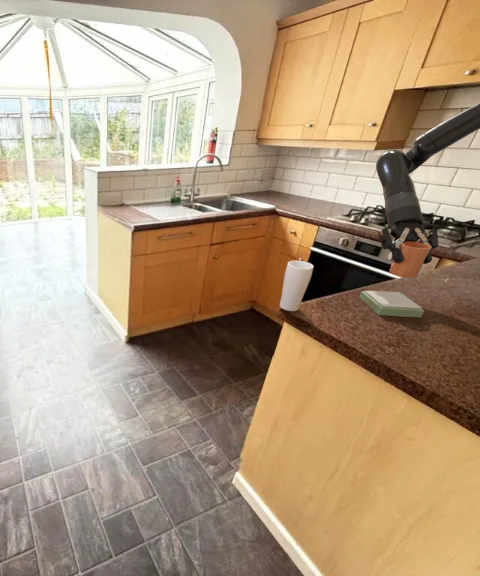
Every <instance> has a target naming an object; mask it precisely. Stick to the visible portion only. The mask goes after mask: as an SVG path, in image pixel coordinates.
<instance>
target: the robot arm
mask: <svg viewBox="0 0 480 576" xmlns="http://www.w3.org/2000/svg"><path fill="white" fill-rule="evenodd" d="M479 130H480V102H479V103H477V104H475V105H473V106H471V107H469V108H466V109H464V110H462V111H461V112H458V113H457V114H454V115H453V116H450V117H448V118H446V119H445V120H443V121H442V122H440V123H438V124H437V125H435V126H433V127H432V128H430V129H428V130H427V131H425V132H424V133H422V134H420V135H419V136H417V137H416V138H414V140H413V142H412V147H411V148H410V149H409V150H408V151H406V153H405V152H403V151H402V150H400V149H389V150H386V151H384V152H383V153H381V155H379V157H378V158H377V160H376V163H375V171H376V173H377V177H378V180H379V182H380V184H381V188H382V193H383V199H384V210H385V211H384V212H385V216H386V222H387V227H383V228H382V229H380V230H379V231H377V235H378V238H379V241H380V245H381V248H382V249H383V250H388V251H390V253H391V257H392V262H393V261H395V263H400V262H402V261H403V256H402V251H401V249H399V248H400V247H401V243H403V242H405V241H411V242H419V243H423V244H426V245H429V246H430V247H431V249H430V251H429V253H428V255H427V257H426V259H425V261H424V263H423V265H428V264H429V263H431V262H432V261H433V256H432V251H433V250H434V249H436V248H439V235H438V229H437V228H432V229H425V227H424V226H423V222H424V217H423V213H422V209H421V204H420V200H419V197H418V195H417V192H416V186H415V183H414V181H413V179H412V177H411V176H410V174H412V173H413V172H414V171H416V170H417V169H419V167H421V166H422V165H423V164H425V163H426V162H427V161H428V160H430V159H431V157H433V156H435V155H436V154H438V153H440V152H442V151H444V150H445V149H447V148H448V147H450V146H452V145H454V144H455V143H458V142H459V141H461V140H463V139H464V138H466V137H468V136H469V135H471V134H473V133H475V132H477V131H479ZM391 236H392V237H393V239H392V238H391Z"/></svg>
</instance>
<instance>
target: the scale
mask: <svg viewBox="0 0 480 576" xmlns="http://www.w3.org/2000/svg"><path fill="white" fill-rule="evenodd" d="M358 298H359V300H361V301H362V302H363V303H364V304H366V305H367V306H368V308H370V310H372V311H373V312H375V313H376V314H377V315H378V316H384V315H385V316H386V317H400V318H401V317H403V318H404V317H405V318H422V317H423V314H424V312H425V310H424V309H423V308H422V306H421V305H418V304H417V303H415V302H414V301H413V300H412V299H410V298H409V297H408V296H406V295H405V294H403V292H400V291H384V290H364V291H360V294H359V297H358Z"/></svg>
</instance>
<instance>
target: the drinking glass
mask: <svg viewBox="0 0 480 576" xmlns="http://www.w3.org/2000/svg"><path fill="white" fill-rule="evenodd" d="M313 271H314V265H313V264H312V263H311V262H307V261H304V260H289V261H287V265H286V267H285V272H284V277H283V282H282V290H281V296H280V302H279V307H280V309H282V310H284V311H286V312H297V311H298V310H299V309H300V305H301V303H302V300H303V298H304V296H305V293H306V291H307V288H308V286H309V284H310V281H311V279H312V275H313Z"/></svg>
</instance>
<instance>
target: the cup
mask: <svg viewBox="0 0 480 576" xmlns="http://www.w3.org/2000/svg"><path fill="white" fill-rule="evenodd" d="M419 242H420V241H417V242H411V241H405V242H403V243H401V247H400V248H399V249H401V251H402V256H403V261H402V262H400V263H395V261H393V260H392V263H391V266H390V268H389V273H390V274H391V275H394V276H396V277H400V278H405V279H416V278H417V277H418V275H419V274H420V271H421V270H422V267H423V265H424V264H423V263H424V261H425V259H426V257H427V255H428V253H429V251H430V249H431V247H430V246H429V245H426V244H423V243H419Z"/></svg>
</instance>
